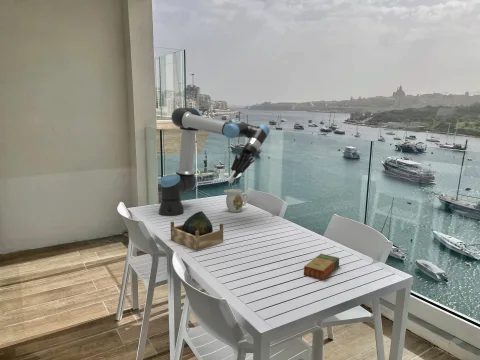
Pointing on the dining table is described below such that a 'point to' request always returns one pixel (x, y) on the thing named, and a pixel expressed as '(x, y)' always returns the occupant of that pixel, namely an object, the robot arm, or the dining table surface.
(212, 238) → the rack
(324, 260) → the carton
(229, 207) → the pitcher
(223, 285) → the dining table surface
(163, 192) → the robot arm
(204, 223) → the squash
